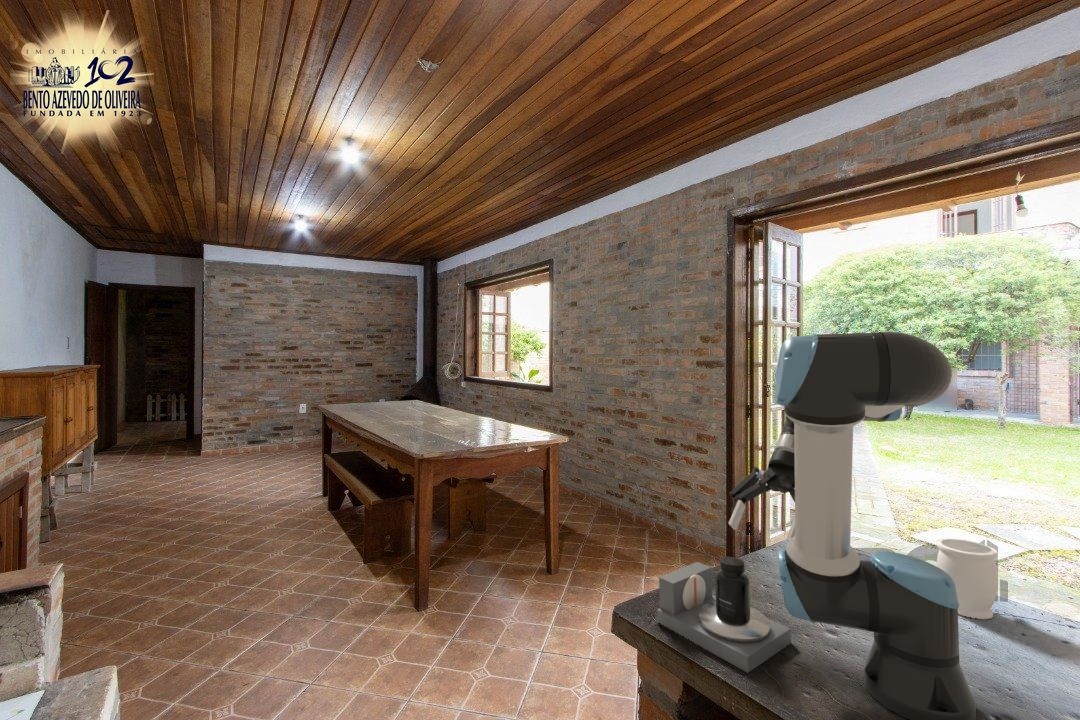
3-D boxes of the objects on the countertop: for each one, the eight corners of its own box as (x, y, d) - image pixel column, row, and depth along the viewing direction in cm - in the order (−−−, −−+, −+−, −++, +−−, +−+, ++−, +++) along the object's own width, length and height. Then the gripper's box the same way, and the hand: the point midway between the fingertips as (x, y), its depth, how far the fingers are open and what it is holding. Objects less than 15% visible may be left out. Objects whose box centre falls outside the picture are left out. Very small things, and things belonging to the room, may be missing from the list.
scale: (791, 643, 98) (789, 594, 98) (747, 672, 89) (746, 619, 89) (700, 601, 116) (699, 560, 116) (657, 622, 107) (656, 578, 107)
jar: (974, 600, 114) (972, 538, 114) (1013, 623, 103) (1010, 555, 104) (927, 599, 115) (925, 537, 115) (960, 622, 105) (958, 554, 105)
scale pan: (783, 626, 98) (783, 620, 98) (745, 651, 90) (745, 644, 90) (723, 600, 110) (723, 595, 110) (685, 620, 102) (685, 614, 102)
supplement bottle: (717, 623, 98) (715, 565, 98) (715, 607, 104) (713, 553, 105) (753, 628, 96) (751, 569, 96) (748, 611, 102) (747, 556, 103)
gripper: (852, 475, 106) (825, 560, 97) (748, 459, 126) (718, 528, 118) (840, 455, 103) (811, 541, 94) (735, 442, 123) (704, 512, 115)
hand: (759, 534), depth 106 cm, fingers open, 13 cm apart
